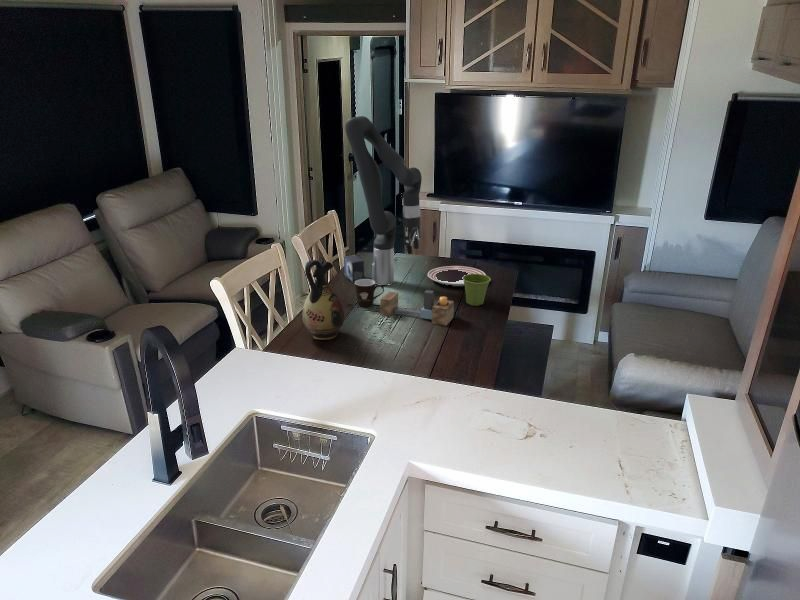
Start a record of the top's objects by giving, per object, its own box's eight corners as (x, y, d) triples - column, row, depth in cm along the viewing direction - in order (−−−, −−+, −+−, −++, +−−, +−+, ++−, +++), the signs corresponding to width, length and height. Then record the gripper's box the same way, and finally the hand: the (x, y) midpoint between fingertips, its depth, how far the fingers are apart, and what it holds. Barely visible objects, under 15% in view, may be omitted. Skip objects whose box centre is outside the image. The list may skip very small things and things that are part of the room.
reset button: (438, 306, 231) (438, 298, 230) (440, 304, 234) (441, 296, 232) (445, 308, 230) (445, 299, 229) (447, 305, 233) (448, 297, 231)
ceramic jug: (324, 323, 231) (321, 249, 220) (353, 333, 222) (351, 258, 211) (291, 337, 219) (286, 260, 208) (320, 349, 210) (316, 269, 198)
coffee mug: (351, 306, 247) (350, 283, 244) (361, 299, 254) (361, 277, 251) (375, 311, 242) (374, 288, 239) (385, 304, 249) (385, 282, 246)
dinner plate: (417, 275, 285) (417, 268, 284) (466, 268, 296) (466, 261, 294) (445, 294, 262) (445, 287, 260) (496, 285, 272) (497, 278, 271)
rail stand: (380, 314, 239) (380, 298, 236) (389, 307, 247) (389, 291, 244) (446, 325, 229) (447, 309, 226) (453, 317, 237) (453, 301, 234)
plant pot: (467, 309, 245) (468, 284, 240) (457, 299, 255) (458, 274, 251) (493, 306, 248) (495, 281, 243) (482, 296, 258) (484, 272, 254)
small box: (343, 277, 282) (342, 256, 278) (355, 275, 284) (355, 254, 281) (352, 283, 273) (351, 262, 269) (365, 281, 276) (364, 260, 272)
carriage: (420, 317, 235) (420, 292, 231) (424, 313, 239) (425, 288, 235) (432, 319, 233) (433, 294, 229) (436, 314, 237) (437, 290, 233)
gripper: (409, 211, 262) (410, 246, 268) (397, 218, 250) (399, 255, 255) (425, 212, 259) (426, 247, 265) (414, 219, 247) (415, 256, 253)
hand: (413, 251), depth 260 cm, fingers open, 8 cm apart
